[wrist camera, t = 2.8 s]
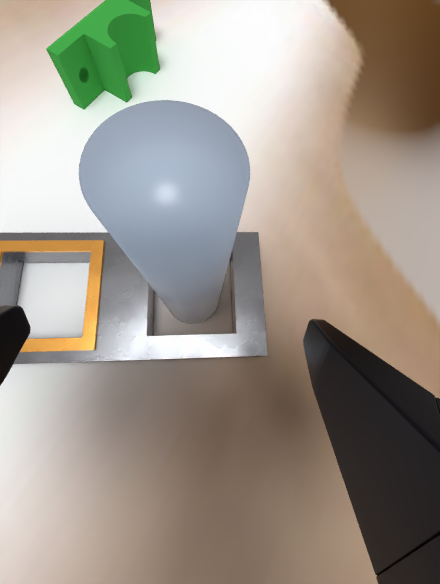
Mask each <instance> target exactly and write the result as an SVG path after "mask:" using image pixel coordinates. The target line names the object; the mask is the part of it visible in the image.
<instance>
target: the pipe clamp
mask: <svg viewBox="0 0 440 584" xmlns="http://www.w3.org/2000/svg"><path fill="white" fill-rule="evenodd" d="M155 41H156V36H155V29H154V23H153V16H152V10H151V3H150V0H105V1H104V2H103V3H102V4H100V5H99V6H98V7H97V8H95V9H94V10H93V11H92V12H91V13H89V14H88V15H87V16H86V17H84V18H83V19H82V20H81V21H80V22H78V23H77V24H76V25H75V26H74V27H72V28H71V29H70V30H69V31H67V32H66V33H65V34H64V35H63V36H61V37H60V38H59V39H58V40H56V41H55V42H54V43H53V44H52V45H50V46H49V47H48V48H47V51H48V53H49V55H50V57H51V59H52V61H53V63H54V65H55V67H56V69H57V71H58V73H59V75H60V77H61V79H62V81H63V83H64V84H65V86H66V88H67V90H68V92H69V94H70V96H71V98H72V100H73V102H74V104H76V105H77V106H79V107H81V108H82V109H85V108H86V107H87V106H88V105H89V104H90V103H91V102H92V101H93V100H95V99H96V98H97V97H98V96H99V95H100V94H101V93H102V92H103V91H104V90H106V91H108V92H110V93H111V94H113V95H115V96H116V97H118V98H120V99H122V100H123V101H125V102H128V101H129V100H130V99H131V98H132V97H131V93H130V90H129V86H128V82H127V77H128V76H130V75H131V74H133V73H135V72H139V71H148V72H152V73H154V74H156V73H157V72H158V71H159V70H160V68H159V62H158V55H157V49H156V42H155Z"/></svg>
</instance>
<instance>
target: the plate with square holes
mask: <svg viewBox="0 0 440 584" xmlns="http://www.w3.org/2000/svg"><path fill="white" fill-rule="evenodd" d="M229 261H230V270H231V293H232V316H233V334H204V335H167V336H153V308H154V290H153V289H152V287H151V286H150V285H149V283H148V282H147V281H146V280H145V278H144V277H143V276H142V274H141V273H140V272H139V271H138V269H137V268H136V267H135V265H134V264H133V263H132V262H131V260H130V259H129V258H128V257H127V255H126V254H125V253H124V251H123V250H122V249H121V248H120V246H119V245H118V244H117V242H116V241H115V240H114V239H113V237H112V236H111V235H110V233H0V306H3V305H16V303H17V297H18V292H19V286H20V280H21V274H22V268H23V263H57V262H90V267H89V277H88V287H87V297H86V307H85V317H84V327H83V337H82V338H48V339H27V340H26V341H25V343H24V345H23V347H22V349H21V351H20V352H19V354H18V356H17V358H16V360H15V362H14V363H13V364H26V363H57V362H87V361H117V360H147V359H177V358H207V357H238V356H268V355H267V342H266V329H265V315H264V302H263V289H262V276H261V262H260V249H259V236H258V232H237V233H236V237H235V241H234V245H233V248H232V252H231V256H230V260H229Z"/></svg>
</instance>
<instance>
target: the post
mask: <svg viewBox="0 0 440 584" xmlns="http://www.w3.org/2000/svg"><path fill="white" fill-rule="evenodd" d="M79 180H80V186H81V190H82V193H83V196H84V198H85V200H86V202H87V204H88V206H89V207H90V209H91V210H92V212H93V213H94V214H95V216H96V217H97V218H98V219H99V221H100V222H101V223H102V224H103V226H104V227H105V228H106V230H107V231H108V232H109V233H110V235H111V236H112V237H113V239H114V240H115V241H116V242H117V244H118V245H119V246H120V248H121V249H122V250H123V251H124V253H125V254H126V255H127V257H128V258H129V259H130V260H131V262H132V263H133V264H134V265H135V267H136V268H137V269H138V271H139V272H140V273H141V274H142V276H143V277H144V278H145V280H146V281H147V282H148V283H149V285H150V286H151V287H152V289H153V290H154V291H155V292H156V294H157V295H158V296H159V297H160V299H161V300H162V301H163V303H164V304H165V305H166V306H167V308H168V309H169V310H170V312H171V313H172V314H173V315H174V316H175V317H176V318H177V319H179V320H180V321H182V322H185V323H191V324H194V323H200V322H203V321H205V320H207V319H208V318H210V317H211V316H212V315H213V313H214V312H215V311H216V309H217V306H218V303H219V299H220V295H221V291H222V287H223V283H224V279H225V276H226V272H227V268H228V264H229V260H230V256H231V252H232V248H233V245H234V241H235V237H236V233H237V229H238V225H239V221H240V217H241V213H242V210H243V206H244V202H245V198H246V194H247V190H248V186H249V180H250V164H249V158H248V155H247V152H246V149H245V147H244V145H243V143H242V141H241V139H240V138H239V136H238V135H237V133H236V132H235V131H234V130H233V129H232V127H231V126H230V125H229V124H227V123H226V122H225V121H224V120H223V119H221V118H220V117H219V116H217V115H216V114H214V113H212V112H210V111H209V110H206V109H204V108H202V107H199V106H196V105H193V104H190V103H185V102H180V101H170V100H161V101H150V102H144V103H140V104H136V105H133V106H130V107H128V108H125V109H123V110H121V111H119V112H117V113H116V114H114V115H112V116H111V117H109V118H108V119H107V120H106V121H104V122H103V123H102V124H101V125H100V126H99V127H98V128H97V129H96V130H95V131H94V133H93V134H92V135H91V137H90V138H89V140H88V141H87V143H86V145H85V147H84V150H83V152H82V155H81V159H80V164H79Z"/></svg>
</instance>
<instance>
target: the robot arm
mask: <svg viewBox="0 0 440 584" xmlns="http://www.w3.org/2000/svg"><path fill="white" fill-rule="evenodd" d="M29 334H30V325H29V322H28V320H27V318H26V315H25V313H24V310H23V308H22V307H20V306H18V305H3V306H0V385H1V384H2V382H3V381H4V379H5V378H6V376H7V374H8V373H9V371H10V369H11V367H12V365H13V363H14V362H15V360H16V358H17V356H18V354H19V352H20V351H21V349H22V347H23V345H24V343H25V341H26V340H27V338H28V336H29ZM303 345H304V350H305V355H306V359H307V364H308V369H309V373H310V378H311V382H312V387H313V390H314V393H315V396H316V399H317V402H318V405H319V408H320V411H321V414H322V417H323V420H324V423H325V426H326V429H327V432H328V435H329V438H330V441H331V444H332V447H333V450H334V453H335V456H336V459H337V462H338V465H339V468H340V471H341V474H342V477H343V480H344V482H345V485H346V488H347V491H348V494H349V497H350V500H351V503H352V506H353V509H354V512H355V515H356V518H357V521H358V524H359V527H360V530H361V533H362V536H363V539H364V542H365V545H366V548H367V551H368V554H369V557H370V560H371V563H372V566H373V569H374V571H375V574H376V575H377V577H376V578H377V581H378V584H440V399H439V398H435V396H434V395H433V394H432V393H430V392H429V391H427V390H426V389H424V388H423V387H421V386H420V385H419V384H417V383H416V382H414V381H413V380H411V379H410V378H408V377H407V376H405V375H404V374H402V373H401V372H399V371H398V370H397V369H395V368H394V367H392V366H391V365H389V364H388V363H386V362H385V361H383V360H382V359H380V358H379V357H378V356H376V355H375V354H373V353H372V352H370V351H369V350H367V349H366V348H364V347H363V346H361V345H360V344H358V343H357V342H356V341H354V340H353V339H351V338H350V337H348V336H347V335H345V334H344V333H342V332H341V331H339V330H338V329H337V328H335V327H334V326H332V325H331V324H329V323H328V322H326V321H325V320H319V319H312V320H310V321H309V323H308V326H307V330H306V333H305V336H304V340H303Z"/></svg>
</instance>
